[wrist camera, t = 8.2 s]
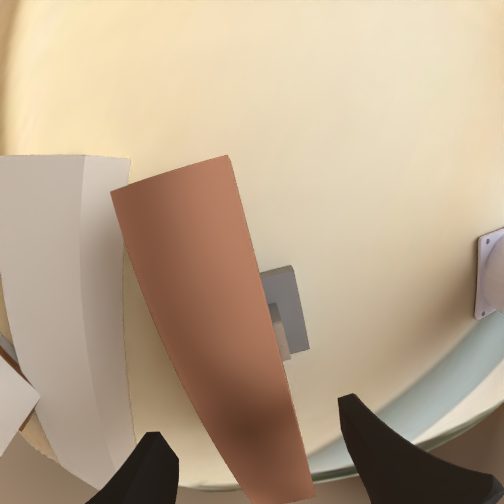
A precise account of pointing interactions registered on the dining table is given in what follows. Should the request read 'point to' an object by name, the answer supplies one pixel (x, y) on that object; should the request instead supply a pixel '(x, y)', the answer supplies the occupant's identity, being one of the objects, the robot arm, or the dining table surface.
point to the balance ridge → (285, 310)
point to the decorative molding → (69, 303)
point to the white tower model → (13, 395)
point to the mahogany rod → (216, 321)
